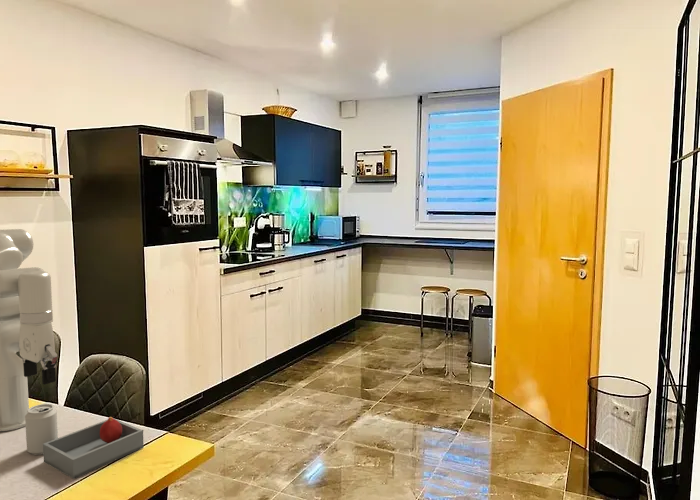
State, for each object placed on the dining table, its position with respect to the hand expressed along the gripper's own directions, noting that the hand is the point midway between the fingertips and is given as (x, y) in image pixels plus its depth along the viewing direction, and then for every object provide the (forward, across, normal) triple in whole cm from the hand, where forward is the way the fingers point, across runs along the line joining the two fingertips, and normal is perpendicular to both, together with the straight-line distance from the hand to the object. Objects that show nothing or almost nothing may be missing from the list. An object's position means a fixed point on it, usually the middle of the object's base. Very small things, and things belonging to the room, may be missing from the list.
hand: (39, 379), depth 141 cm
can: (+20, 0, 0) cm, 20 cm away
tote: (+20, +14, +6) cm, 25 cm away
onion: (+19, +14, +11) cm, 27 cm away
